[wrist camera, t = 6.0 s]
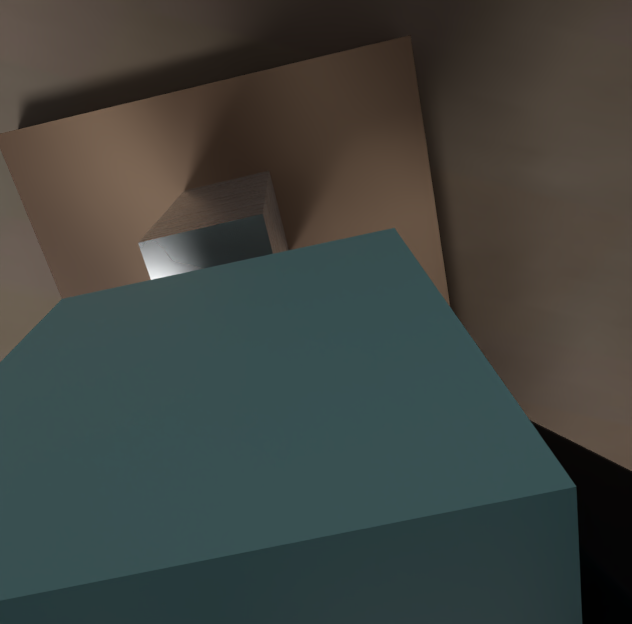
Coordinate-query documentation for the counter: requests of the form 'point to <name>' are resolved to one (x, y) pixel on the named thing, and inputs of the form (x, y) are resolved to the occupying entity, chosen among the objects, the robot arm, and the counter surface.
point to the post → (215, 227)
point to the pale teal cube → (276, 456)
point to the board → (235, 163)
